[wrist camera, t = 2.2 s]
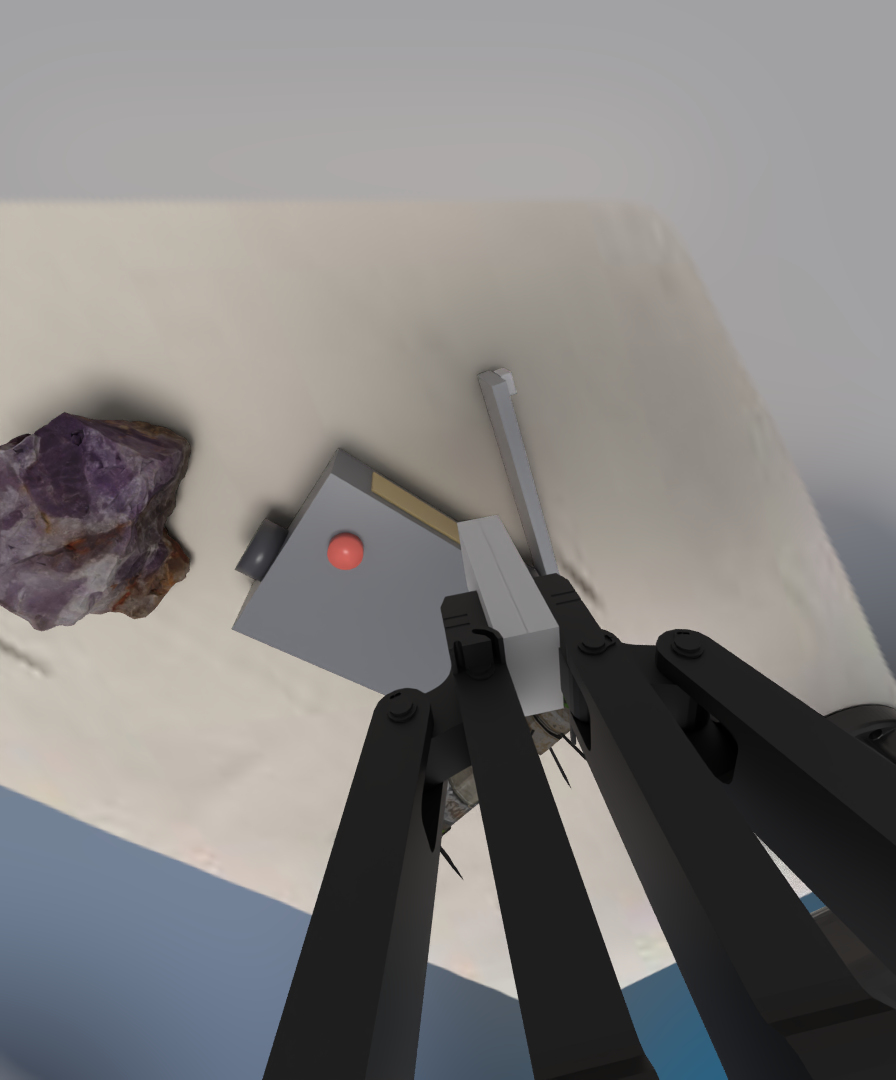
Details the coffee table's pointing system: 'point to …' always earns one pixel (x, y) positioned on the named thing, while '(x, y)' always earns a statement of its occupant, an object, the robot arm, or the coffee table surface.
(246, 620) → the camera body
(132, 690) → the coffee table surface
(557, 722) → the bomb
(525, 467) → the side door
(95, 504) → the rock
